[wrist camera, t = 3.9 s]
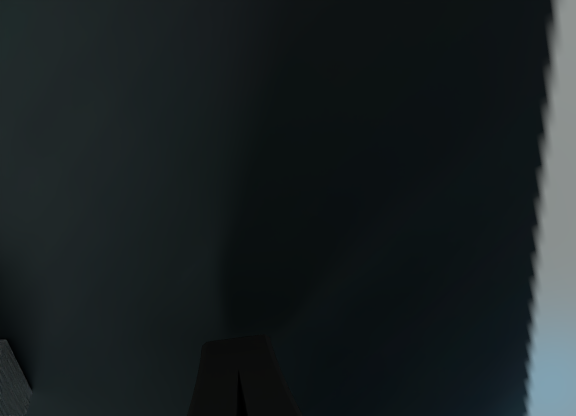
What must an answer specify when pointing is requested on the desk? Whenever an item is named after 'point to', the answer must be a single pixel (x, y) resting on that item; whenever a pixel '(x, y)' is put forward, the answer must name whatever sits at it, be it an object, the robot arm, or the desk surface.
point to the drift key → (12, 384)
